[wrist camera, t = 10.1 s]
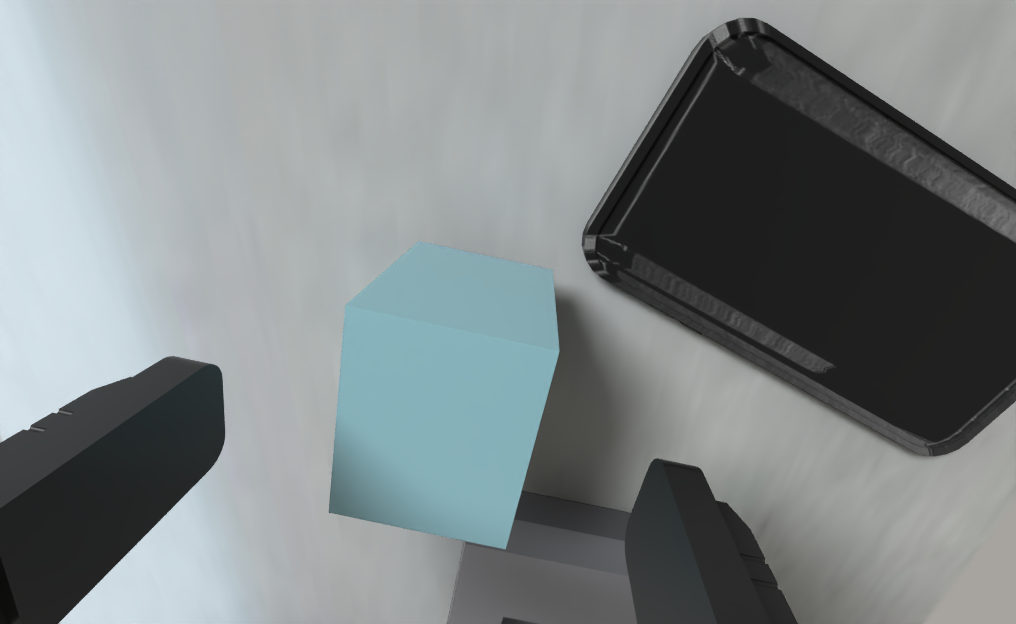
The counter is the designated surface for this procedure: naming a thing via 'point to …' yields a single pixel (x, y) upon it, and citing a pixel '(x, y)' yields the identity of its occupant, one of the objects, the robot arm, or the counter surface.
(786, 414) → the counter surface
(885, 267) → the phone
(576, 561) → the power strip
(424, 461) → the block
